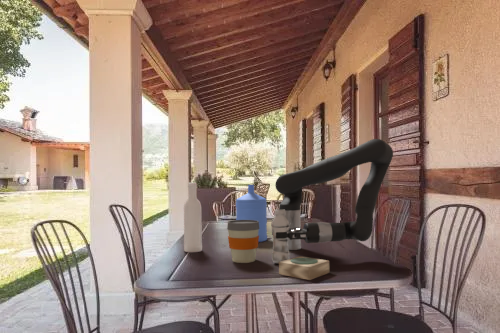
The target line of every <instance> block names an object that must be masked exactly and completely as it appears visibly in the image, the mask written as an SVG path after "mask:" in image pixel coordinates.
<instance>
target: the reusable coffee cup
mask: <svg viewBox="0 0 500 333" xmlns="http://www.w3.org/2000/svg"><path fill="white" fill-rule="evenodd" d="M259 229H260V228H259V221H256V220H236V219H235V220H234V219H233V220H229V221H227V227H226V230H227V231H228V233H227V234H228V236H227V239H228V245H229V246H228V247H229V249H230V253H231V259H232V260H231V261H232V263H237V264H239V263H240V264H248V263H253V262H255V261H256V257H257V256H256V254H257V248H259V242H258V240H259V236H258V231H259Z"/></svg>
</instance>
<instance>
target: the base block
mask: <svg viewBox="0 0 500 333" xmlns="http://www.w3.org/2000/svg"><path fill="white" fill-rule="evenodd" d="M278 274H279V275H282V276H287V277H293V278H297V279H302V280H308V281H311V280H314V279H317V278H319V277H322V276H324V275H327V274H330V260H328V259H327V260H326V259H322V258H321V259H320V258H314V257H308V256H300V255H298V256H296V257H293V258H290V259H288V260H284V261H281V262H279V264H278Z"/></svg>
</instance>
